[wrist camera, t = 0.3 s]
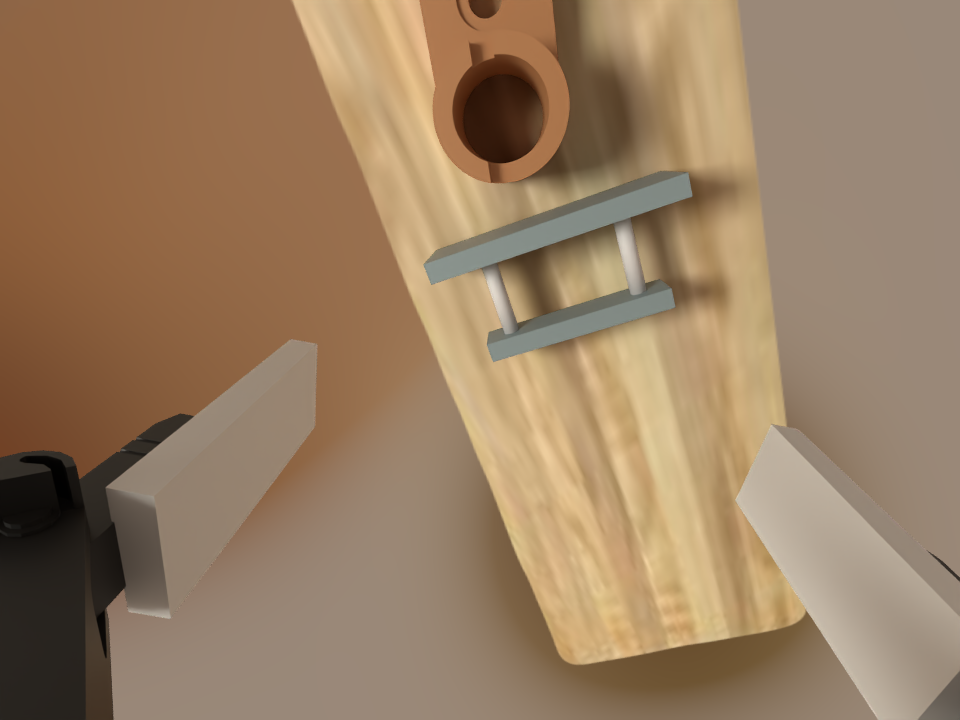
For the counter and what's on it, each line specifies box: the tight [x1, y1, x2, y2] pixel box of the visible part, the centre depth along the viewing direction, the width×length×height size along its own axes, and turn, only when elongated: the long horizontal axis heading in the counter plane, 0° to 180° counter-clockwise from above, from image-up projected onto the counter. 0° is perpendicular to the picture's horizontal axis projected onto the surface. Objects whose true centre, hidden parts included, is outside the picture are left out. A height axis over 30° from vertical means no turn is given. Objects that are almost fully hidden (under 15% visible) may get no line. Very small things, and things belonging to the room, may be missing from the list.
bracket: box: [420, 0, 570, 183], centre depth 30 cm, size 18×8×7 cm, turn 10°
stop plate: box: [424, 171, 692, 362], centre depth 36 cm, size 9×18×6 cm, turn 109°
